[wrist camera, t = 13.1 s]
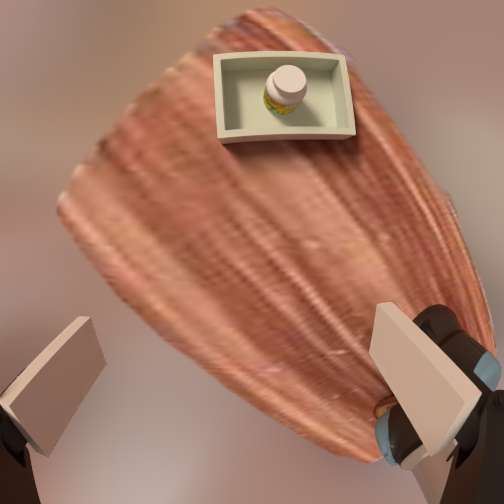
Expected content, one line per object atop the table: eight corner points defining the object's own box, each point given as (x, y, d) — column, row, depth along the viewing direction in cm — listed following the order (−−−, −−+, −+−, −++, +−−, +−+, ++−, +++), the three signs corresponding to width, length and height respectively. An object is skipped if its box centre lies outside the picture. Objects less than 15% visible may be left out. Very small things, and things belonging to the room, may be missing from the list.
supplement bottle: (303, 108, 37) (319, 90, 27) (272, 121, 37) (280, 104, 28) (287, 80, 35) (299, 55, 26) (256, 91, 36) (260, 68, 27)
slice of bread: (436, 396, 56) (442, 403, 53) (386, 430, 59) (391, 439, 55) (426, 365, 52) (433, 374, 49) (368, 406, 55) (373, 416, 51)
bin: (341, 140, 39) (356, 134, 33) (221, 144, 39) (217, 138, 33) (332, 68, 36) (344, 55, 30) (217, 70, 36) (212, 54, 30)
